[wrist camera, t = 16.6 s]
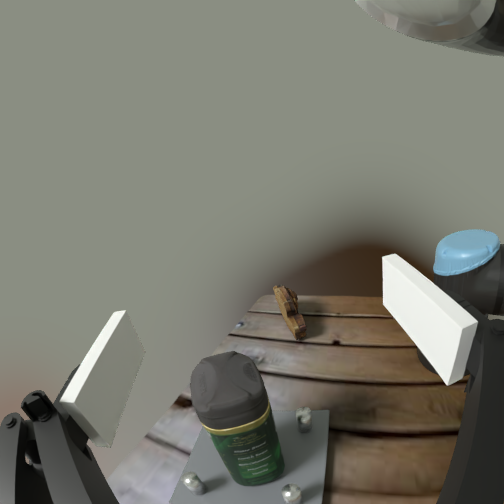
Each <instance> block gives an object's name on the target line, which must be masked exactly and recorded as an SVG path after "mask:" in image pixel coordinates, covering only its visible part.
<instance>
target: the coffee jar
mask: <svg viewBox="0 0 504 504" xmlns="http://www.w3.org/2000/svg"><path fill="white" fill-rule="evenodd" d="M190 388H191V397H192V405H193V407H194V408H195V410H196V413H197V415H198V417H199V419H200V421H201V423H202V425H203V426H204V428H205V429H206V431H207V433H208V435H209V437H210V438H211V440H212V442H213V444H214V446H215V448H216V450H217V451H218V453H219V455H220V457H221V459H222V460H223V462H224V464H225V466H226V468H227V470H228V472H229V473H230V475H231V477H232V478H233V480H234V481H235V482H236V483H238V484H239V485H242V486H257V485H261V484H265V483H268V482H270V481H273V480H275V479H276V478H278V477H279V476H280V475H281V474H282V473H283V471H284V468H285V463H284V458H283V454H282V450H281V446H280V442H279V438H278V434H277V430H276V425H275V421H274V417H273V413H272V410H271V406H270V402H269V399H268V395H267V392H266V389H265V386H264V382H263V380H262V377H261V375H260V373H259V371H258V369H257V367H256V365H255V363H254V362H253V361H252V360H251V359H250V358H249V357H247V356H245V355H243V354H240V353H237V352H235V351H231V352H226V353H222V354H218V355H214V356H210V357H207V358H204V359H202V360H201V362H200V363H199V364H198V365H197V366H196V367H195V369H194V370H193V372H192V375H191V383H190Z"/></svg>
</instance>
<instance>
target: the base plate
mask: <svg viewBox="0 0 504 504" xmlns="http://www.w3.org/2000/svg"><path fill="white" fill-rule="evenodd" d="M272 413H273V417H274V421H275V425H276V430H277V434H278V438H279V442H280V446H281V450H282V454H283V458H284V463H285V468H284V471H283V473H282V474H281V475H280V476H279V477H278V478H276V479H275V480H273V481H270V482H268V483H265V484H261V485H257V486H242V485H239V484H238V483H236V482H235V481H234V480H233V478H232V477H231V475H230V473H229V472H228V470H227V468H226V466H225V464H224V462H223V460H222V459H221V457H220V455H219V453H218V451H217V450H216V448H215V446H214V444H213V442H212V440H211V438H210V437H209V435H208V433H207V431H206V429H205V428H204V426H203V427H202V430H201V432H200V434H199V437H198V439H197V441H196V443H195V446H194V448H193V450H192V453H191V455H190V457H189V459H188V462H187V464H186V466H185V468H184V471H183V473H182V475H181V477H180V479H179V482H178V484H177V486H176V488H175V490H174V493H173V495H172V497H171V499H170V501H169V503H170V504H322V500H323V491H324V482H325V472H326V461H327V448H328V433H329V410H312V411H311V410H310V409H309V408H308V407H300V408H298V409H297V410H296V411H272Z"/></svg>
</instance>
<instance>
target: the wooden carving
mask: <svg viewBox="0 0 504 504" xmlns="http://www.w3.org/2000/svg"><path fill="white" fill-rule="evenodd" d="M273 288H274V292H275V295H276V296H275V298H276V300H277V302H278V304H279V308H280V310H281V313H282V315H283V317H284V320H285V322H286V324H287V326H288V328H289V329H290V331H291V332H292V333H293V335H294V337H295V339H296V340H298V339H301V338H302V337H304V336H306V333H305V331H306V330H307V328H306V324H305V321H304V318H303V316H302V315H301V314H299V313H298V311H297V310H298V303H297V300H298V298H297V295H296V293H295V292H292V291H291V290H290V289H289V288H285V287H284V286H283V285H282V284H281V285H279V286H274V287H273Z"/></svg>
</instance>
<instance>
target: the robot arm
mask: <svg viewBox="0 0 504 504" xmlns="http://www.w3.org/2000/svg"><path fill="white" fill-rule="evenodd" d="M354 1H355V2H356V3H357V4H358V5H359V6H360V7H361V8H362V9H363V10H364V11H365V12H366V13H368V14H369V15H370V16H372V17H373V18H374V19H376V20H377V21H379V22H380V23H382V24H384V25H385V26H387V27H389V28H391V29H393V30H395V31H397V32H399V33H402V34H404V35H407V36H409V37H412V38H416V39H419V40H422V41H426V42H431V43H434V44H438V45H442V46H446V47H450V48H455V49H460V50H464V51H469V52H473V53H480V54H486V55H493V56H504V0H354ZM382 259H383V305H384V306H385V307H386V308H387V309H388V311H389V312H390V313H391V314H392V315H393V317H394V318H395V319H396V320H397V321H398V323H399V324H400V325H401V326H402V328H403V329H404V330H405V331H406V333H407V334H408V335H409V336H410V338H411V339H412V340H413V341H414V343H415V344H416V345H417V346H418V347H417V354H418V358H419V360H420V361H421V363H422V364H423V365H424V366H425V367H426V368H427V369H428V370H430V371H431V372H433V373H435V374H438V375H440V377H441V378H442V379H443V381H444V382H445V383H446V385H447V386H448V385H450V384H452V383H454V382H456V381H458V380H460V379H462V378H463V376H465V375H468V374H470V377H469V380H468V383H467V385H466V388H465V391H464V392H467V394H466V400H465V406H464V411H463V416H462V421H461V426H460V430H459V434H458V438H457V442H456V446H455V450H454V453H453V457H452V460H451V464H450V467H449V470H448V473H447V476H446V479H445V482H444V485H443V488H442V490H441V493H440V496H439V498H438V501H437V503H436V504H503V502H504V320H500V319H495V320H494V319H493V320H489V319H488V314H492V315H500V316H504V244H500V241H499V238H498V236H497V235H496V234H494V233H492V232H486V231H485V230H465V231H459V232H455V233H453V234H450V235H448V236H446V237H445V238H443V239H442V240H441V241H440V242H439V244H438V246H437V249H436V257H435V264H434V267H433V269H434V283H432V282H431V281H430V280H429V279H427V278H426V277H425V276H424V275H422V274H421V273H420V272H419V271H417V270H416V269H415V268H413V267H412V266H411V265H410V264H408V263H407V262H406V261H404V260H403V259H402V258H400V257H399V256H398V255H396V254H392V255H388V256H384V257H382ZM144 355H145V350H144V348H143V346H142V343H141V342H140V340H139V337H138V335H137V333H136V331H135V329H134V326H133V324H132V322H131V320H130V317H129V315H128V313H127V311H126V310H124V311H118V312H114V314H113V315H112V316H111V318H110V320H109V321H108V322H107V324H106V325H105V327H104V328H103V330H102V331H101V333H100V335H99V336H98V338H97V339H96V341H95V342H94V344H93V346H92V347H91V349H90V350H89V352H88V354H87V355H86V357H85V359H84V361H83V362H82V363H81V364H80V365H79V366H78V367H76V368H75V369H74V370H73V371H72V373H71V375H70V376H69V378H68V380H67V381H66V383H65V384H64V387H63V388H62V390H61V391H60V394H59V395H58V397H57V398H56V400H55V402H54V403H53V404H52V402H51V401H50V400H49V398H48V397H47V396H46V394H45V393H44V392H43V391H41V390H39V391H38V390H37V391H34V392H32V393H30V394H28V395H27V396H26V397H25V398H24V400H23V401H22V403H21V408H22V409H23V411H24V412H25V413H26V414H27V416H28V417H29V418H30V419H31V420H24V419H23V418H22V417H21V416H20V414H18V413H11V414H9V415H7V416H6V417H5V418H4V419H3V421H2V423H1V426H0V504H119V502H118V501H117V499H116V497H115V496H114V494H113V492H112V490H111V488H110V487H109V485H108V483H107V481H106V479H105V477H104V475H103V474H102V472H101V470H100V468H99V466H98V464H97V461H96V459H95V457H94V455H93V453H92V451H91V449H90V448H89V446H88V445H87V441H88V439H90V440H91V441H92V442H93V443H94V444H95V445H96V446H99V447H110V448H111V446H112V443H113V440H114V437H115V434H116V431H117V428H118V425H119V422H120V419H121V417H122V413H123V411H124V408H125V405H126V402H127V400H128V397H129V394H130V392H131V389H132V386H133V383H134V381H135V378H136V376H137V373H138V370H139V368H140V365H141V362H142V360H143V357H144ZM25 456H26V457H27V458H28V459H29V464H27V463H26V460H25Z"/></svg>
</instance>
